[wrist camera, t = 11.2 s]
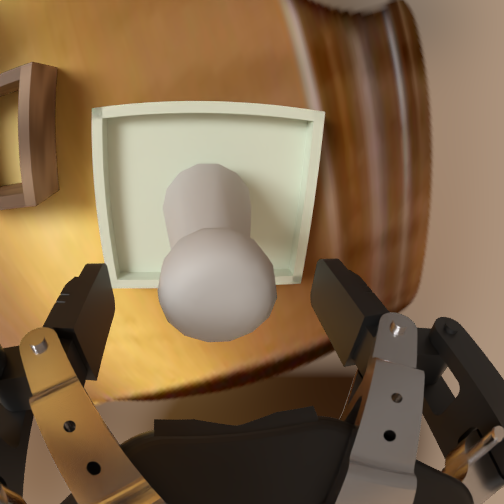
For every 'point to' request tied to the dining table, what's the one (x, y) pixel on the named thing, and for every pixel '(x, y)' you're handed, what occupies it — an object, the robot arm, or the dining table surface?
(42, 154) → the holder
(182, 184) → the salt shaker
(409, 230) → the dining table surface
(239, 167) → the tray
